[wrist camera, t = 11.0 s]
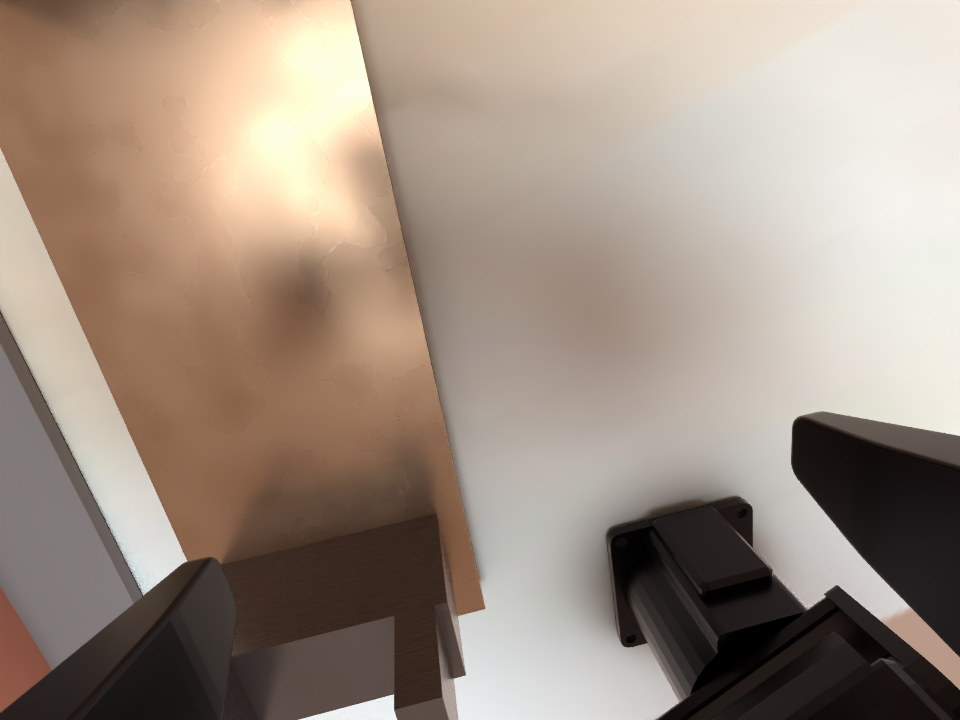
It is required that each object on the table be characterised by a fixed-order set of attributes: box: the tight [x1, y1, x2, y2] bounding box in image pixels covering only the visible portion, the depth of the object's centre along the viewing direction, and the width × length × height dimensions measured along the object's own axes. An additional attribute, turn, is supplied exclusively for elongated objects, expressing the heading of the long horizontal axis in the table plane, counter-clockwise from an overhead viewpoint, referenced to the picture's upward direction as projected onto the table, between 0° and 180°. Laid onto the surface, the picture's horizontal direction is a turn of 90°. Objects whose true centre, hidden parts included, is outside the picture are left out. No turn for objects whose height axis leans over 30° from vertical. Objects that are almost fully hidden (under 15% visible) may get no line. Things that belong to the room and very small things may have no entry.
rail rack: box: [0, 0, 485, 720], centre depth 14 cm, size 28×10×9 cm, turn 10°
